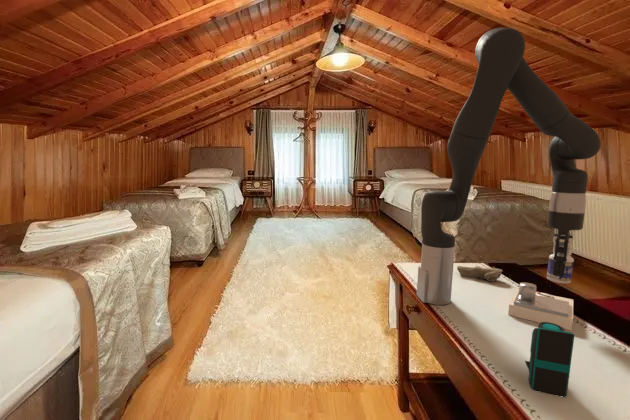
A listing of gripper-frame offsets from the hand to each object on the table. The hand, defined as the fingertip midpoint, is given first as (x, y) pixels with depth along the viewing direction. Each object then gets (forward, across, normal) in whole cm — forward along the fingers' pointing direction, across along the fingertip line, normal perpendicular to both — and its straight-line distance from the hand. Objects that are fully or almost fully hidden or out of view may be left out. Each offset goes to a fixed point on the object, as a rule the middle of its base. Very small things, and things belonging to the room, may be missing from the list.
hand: (559, 273), depth 88 cm
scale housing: (+13, +3, +3) cm, 14 cm away
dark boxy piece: (+13, -33, 0) cm, 35 cm away
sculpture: (+13, +23, +24) cm, 36 cm away
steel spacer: (+9, 0, +7) cm, 11 cm away
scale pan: (+10, 0, +3) cm, 10 cm away
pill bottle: (+2, 0, 0) cm, 2 cm away
